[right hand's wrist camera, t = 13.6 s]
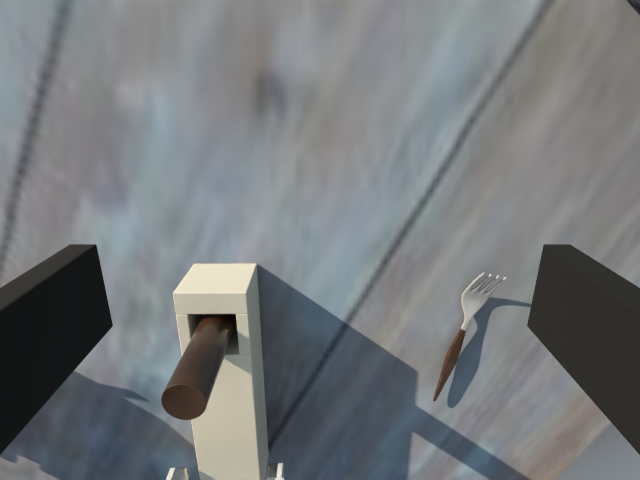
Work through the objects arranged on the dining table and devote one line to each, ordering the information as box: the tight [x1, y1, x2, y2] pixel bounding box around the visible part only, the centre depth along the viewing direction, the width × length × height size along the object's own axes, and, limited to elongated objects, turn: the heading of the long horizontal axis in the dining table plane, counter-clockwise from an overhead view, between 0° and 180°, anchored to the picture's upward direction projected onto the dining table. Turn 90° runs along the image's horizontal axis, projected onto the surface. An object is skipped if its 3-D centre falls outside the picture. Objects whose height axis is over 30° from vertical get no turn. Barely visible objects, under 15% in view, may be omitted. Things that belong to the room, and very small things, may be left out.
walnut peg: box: [161, 314, 237, 420], centre depth 34 cm, size 3×3×14 cm
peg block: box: [173, 264, 269, 480], centre depth 40 cm, size 6×24×6 cm, turn 0°
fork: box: [433, 272, 506, 401], centre depth 41 cm, size 3×16×2 cm, turn 167°
